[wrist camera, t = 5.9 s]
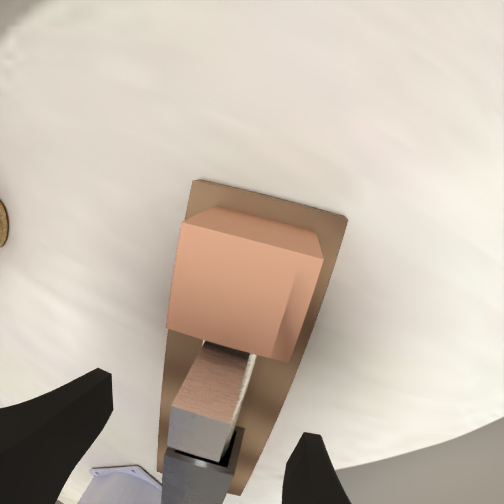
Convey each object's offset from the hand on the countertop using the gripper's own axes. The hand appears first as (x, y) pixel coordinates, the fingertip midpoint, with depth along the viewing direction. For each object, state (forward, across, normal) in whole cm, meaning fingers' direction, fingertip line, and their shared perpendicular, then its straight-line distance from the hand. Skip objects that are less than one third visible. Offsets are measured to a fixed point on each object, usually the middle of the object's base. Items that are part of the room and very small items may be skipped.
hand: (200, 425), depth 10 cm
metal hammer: (+7, 0, +3) cm, 8 cm away
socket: (+8, 0, -4) cm, 9 cm away
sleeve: (+8, 0, +13) cm, 15 cm away
